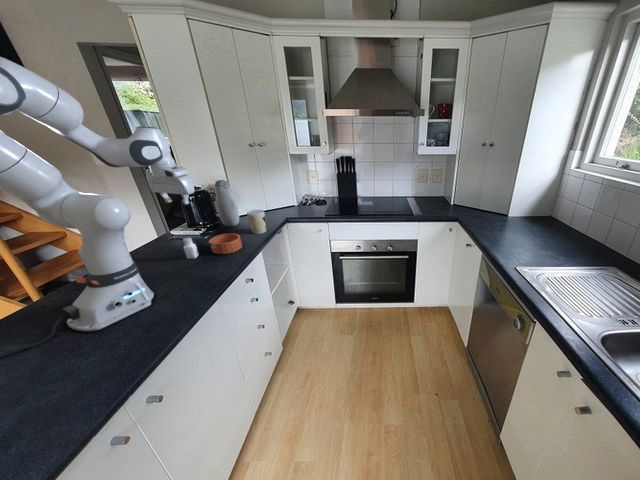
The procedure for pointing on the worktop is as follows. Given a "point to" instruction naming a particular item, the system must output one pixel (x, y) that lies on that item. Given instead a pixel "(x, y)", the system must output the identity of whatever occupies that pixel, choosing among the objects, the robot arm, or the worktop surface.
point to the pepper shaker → (190, 248)
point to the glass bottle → (226, 204)
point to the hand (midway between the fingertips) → (177, 203)
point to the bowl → (225, 243)
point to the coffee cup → (257, 221)
